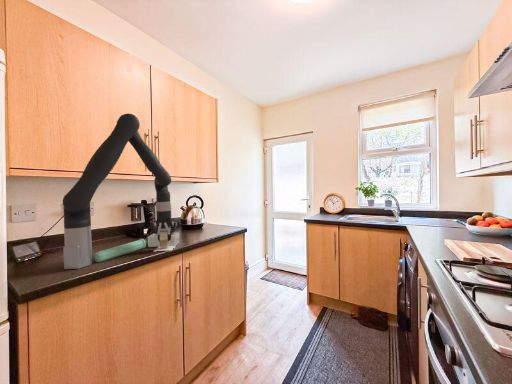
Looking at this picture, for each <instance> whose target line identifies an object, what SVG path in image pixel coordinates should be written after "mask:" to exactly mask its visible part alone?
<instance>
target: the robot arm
mask: <svg viewBox="0 0 512 384" xmlns="http://www.w3.org/2000/svg"><path fill="white" fill-rule="evenodd" d="M140 126H141V125H140V120H139V118H138V117H137V116H136V115H134V114H132V113H124V114H121V115H120V116H119V117H118V119H117V121H116V125H115V126H114V128H113V130H112V132H111V133H110V134H109V136H108V137H107V138H106V139H105V140H103V142H102V143H101V144H100V146H98V148H97V149H96V151H95V152H94V153H93V155H92V156H91V158H90V159H89V161H88V163H87V164H86V166H85V168H84V169H83V172H82V174H81V176H80V177H79V179H78V180H77V182H76V183H75V184H74V185H73V186H72V188H71V189H69V191H68V192H66V193H65V195H64V196H63V198H62V205H63V233H64V235H63V236H64V246H63V247H62V248H63V249H62V251H63V254H62V255H63V269H64V270H74V269H75V270H77V269H81V268H85V267H88V266H90V265H92V264H93V246H92V242H93V241H92V240H93V239H92V219H91V216H92V215H91V202H92V199H93V198H94V195H95V193H96V191H97V190H98V187H99V186H100V185H101V184H102V183H103V182H104V181H105V179H106V178H107V177H108V176H109V174H110V173H111V171H112V170H113V169H114V167H115V166H116V164H117V163H118V162H119V159H120V158H121V155H122V154H123V152H124V149H125V148H126V146H127V144H128V143H129V144H130V145H131V146H132V147H133V149H134V150H135V152H136V154H137V155H138V157H139V158H140V159H141V161H142V162H143V164H144V166H145V167H146V169H147V170H148V171H149V173H152V174H153V177H154V189H155V193H156V194H155V195H156V199H155V200H156V203H155V204H156V205H155V207H156V208H155V210H156V213H155V214H156V221H154V222H151V223H150V227H151V230H152V231H153V234H157V235H158V240H159V241H160V229H163V228H166V230H167V232H168V241H170V240H171V234H172V233H174V232H176V229H177V225H178V221H173V220H172V205H171V192H170V190H169V185H170V184H171V183H172V177H171V175H170V173H169V172H168V171H167V169H166V168H165V167H164V166H163V165H162V164H161V162H160V160H159V158H158V157H157V156H156V153H154V152H153V150H152V149H151V148H150V147H149V146H148V145H147V144H146V142H145V141H144V139H143V138H142V136H141V135H140V131H139V129H140ZM171 225H172V228H171ZM157 227H158V228H157Z"/></svg>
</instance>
